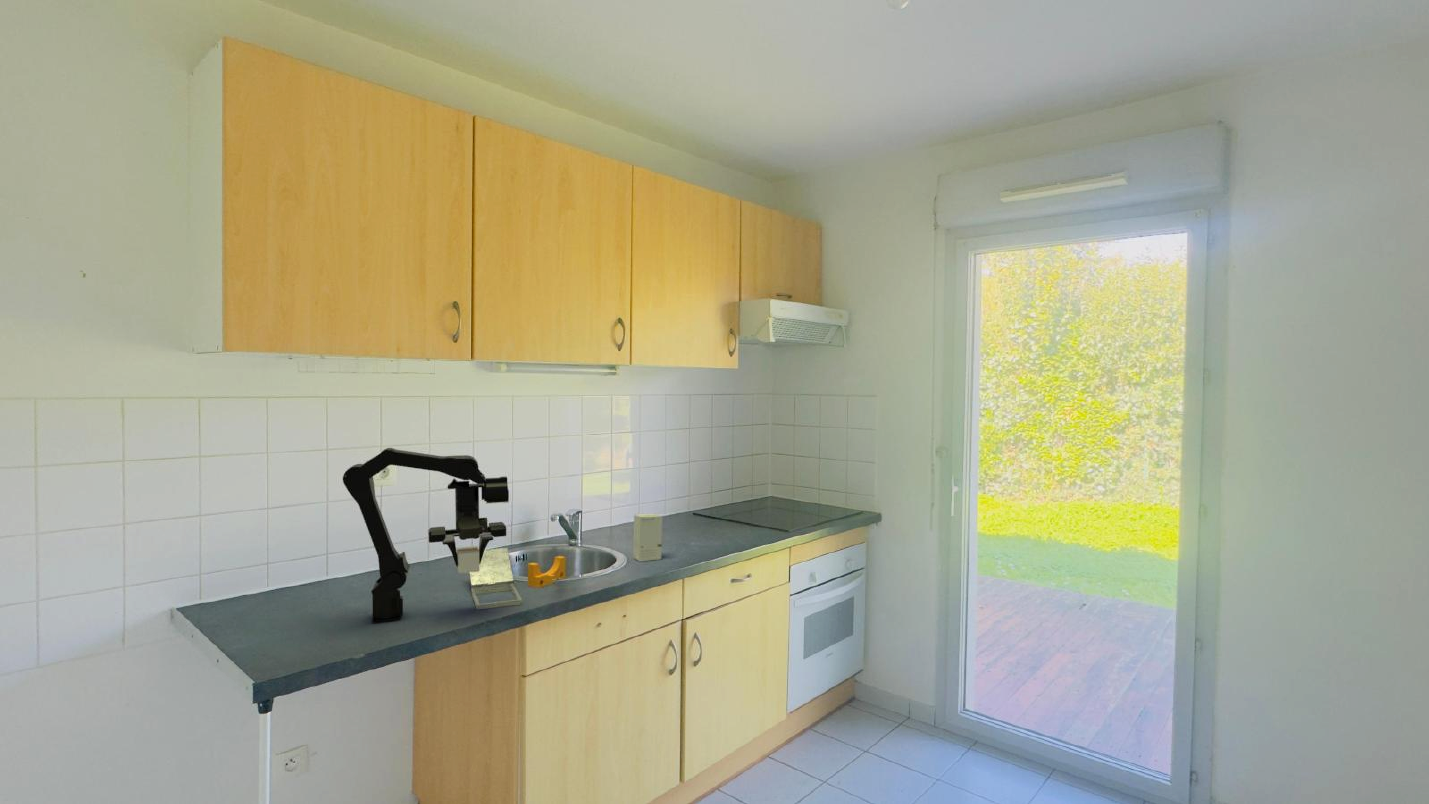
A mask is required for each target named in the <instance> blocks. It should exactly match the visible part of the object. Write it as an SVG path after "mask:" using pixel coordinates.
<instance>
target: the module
mask: <svg viewBox="0 0 1429 804" xmlns="http://www.w3.org/2000/svg"><path fill="white" fill-rule="evenodd" d="M456 551H457V557H458V566H456V568H457V573H458V574H459V575H460V574H468V573H469V574H470V572H479V546H477V545H474V546H463V547H456Z"/></svg>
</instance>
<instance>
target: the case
mask: <svg viewBox="0 0 1429 804" xmlns="http://www.w3.org/2000/svg"><path fill="white" fill-rule="evenodd" d="M508 551H509V550H508V548H507V547H502V548H493V549H492V548H491V549H490V548H489V549H485V550H484V553H483V557H482V560H481V563H480V564H479V572H470V573H469V579H470V580H469V581H470V587H471V590H470V591H471V597H472V600H473V603H474V604H475V605H474V606H475V609H476V610H477V611H478V610H484V609H485V610H486V609H493V608H502V607H509V606H517V605H518V606H519V605H522V604H523V600H522V598H521V595H520V594H519V592H518V591H517V589H516V587H515V581H514V576H513V572H512V567H511V561H510V556H509V552H508ZM507 591H511V592H512V595H513V596H514V598H515V599H509V600H503V601H502V600H501V601H494V602H487V603H485V602H484V603H480V601H479V599H478V596H477V595H481V594H482V595H484V594H491V593H499V592H507Z"/></svg>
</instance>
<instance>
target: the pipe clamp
mask: <svg viewBox="0 0 1429 804" xmlns="http://www.w3.org/2000/svg"><path fill="white" fill-rule="evenodd" d="M566 561H567V559H566V556H562V555H558V556H555V557H554V560H553V564H552V566H551V567H550V568H549V570H548V571H547V572H544V573H543V572H542V571H541V569H540V564H539V563H536V562H529V563H527V586H529V587H531V586H532V588H535V589H540V588H543V587H546V586H545V585H547V586H550V585H552V584H551V583H553V582H555V583H556V581H555V580H552V579H559V578H564V579H566V571H567V570H566V569H567V568H566V565H567V564H566ZM542 586H543V587H542Z"/></svg>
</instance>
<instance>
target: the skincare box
mask: <svg viewBox="0 0 1429 804" xmlns="http://www.w3.org/2000/svg"><path fill="white" fill-rule="evenodd" d="M662 535H663V515H661V514H658V513H640V514H638V513H637V514H634V515H633V553H632V554H633V556H632V557H633V559H635V560H636V561H637V562H639V563H641V562H649V561H656V560H657V561H658V560H661V559H662V547H663V546H662V543H663V542H662V539H663V536H662Z"/></svg>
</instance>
